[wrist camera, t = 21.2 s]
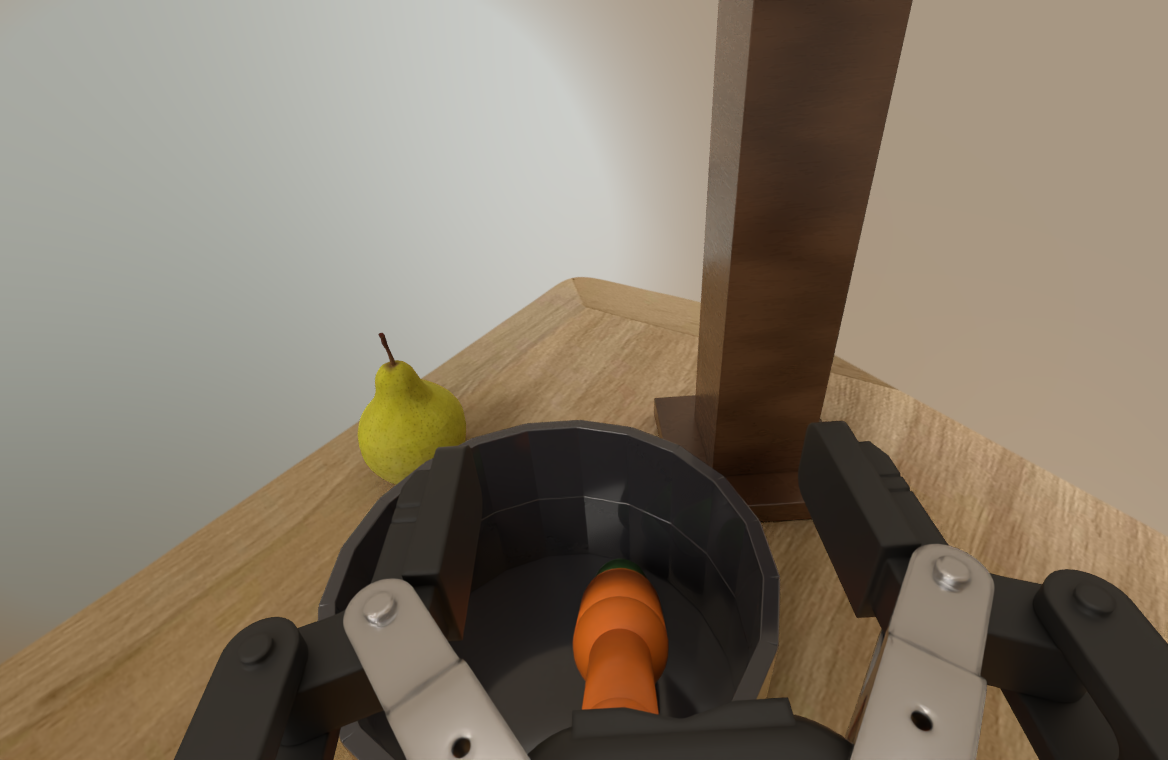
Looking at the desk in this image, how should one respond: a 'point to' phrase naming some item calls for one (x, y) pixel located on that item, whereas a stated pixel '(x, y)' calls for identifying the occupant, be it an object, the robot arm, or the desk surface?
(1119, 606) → the robot arm
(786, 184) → the stand
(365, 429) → the fruit
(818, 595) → the desk surface
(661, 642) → the carrot
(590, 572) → the pot
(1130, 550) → the desk surface
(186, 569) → the desk surface
